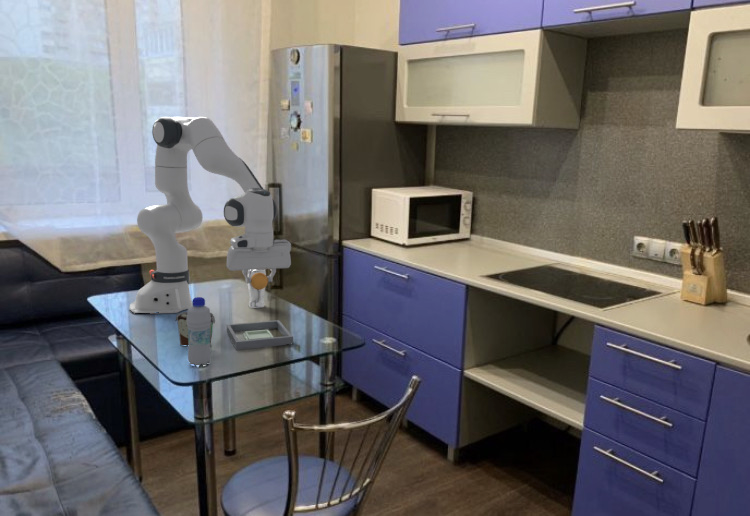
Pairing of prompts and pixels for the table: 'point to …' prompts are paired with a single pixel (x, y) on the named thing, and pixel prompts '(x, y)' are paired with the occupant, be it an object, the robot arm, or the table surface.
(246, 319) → the table surface
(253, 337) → the resting pad
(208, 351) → the bottle
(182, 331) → the food container
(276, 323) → the low wall pen
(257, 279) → the ball
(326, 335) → the table surface
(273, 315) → the table surface
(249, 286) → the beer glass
